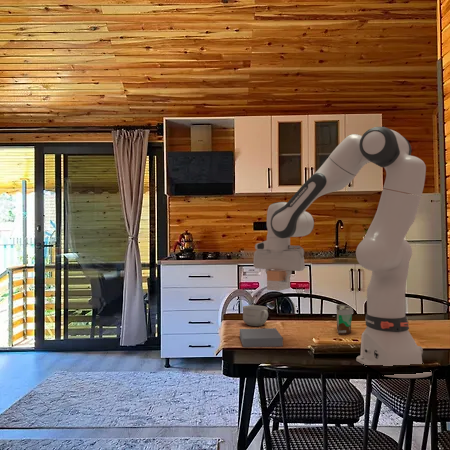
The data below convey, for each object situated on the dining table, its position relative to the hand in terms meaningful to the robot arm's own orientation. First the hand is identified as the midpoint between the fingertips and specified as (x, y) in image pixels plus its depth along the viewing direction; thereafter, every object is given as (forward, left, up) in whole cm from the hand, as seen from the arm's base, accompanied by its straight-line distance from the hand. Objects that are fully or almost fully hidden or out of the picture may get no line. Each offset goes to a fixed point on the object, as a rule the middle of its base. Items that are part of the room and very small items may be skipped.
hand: (278, 281), depth 152 cm
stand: (-3, +8, -22) cm, 23 cm away
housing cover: (0, 0, +1) cm, 1 cm away
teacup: (+22, +6, -22) cm, 31 cm away
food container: (+8, -28, -22) cm, 37 cm away
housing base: (0, 0, -3) cm, 3 cm away
